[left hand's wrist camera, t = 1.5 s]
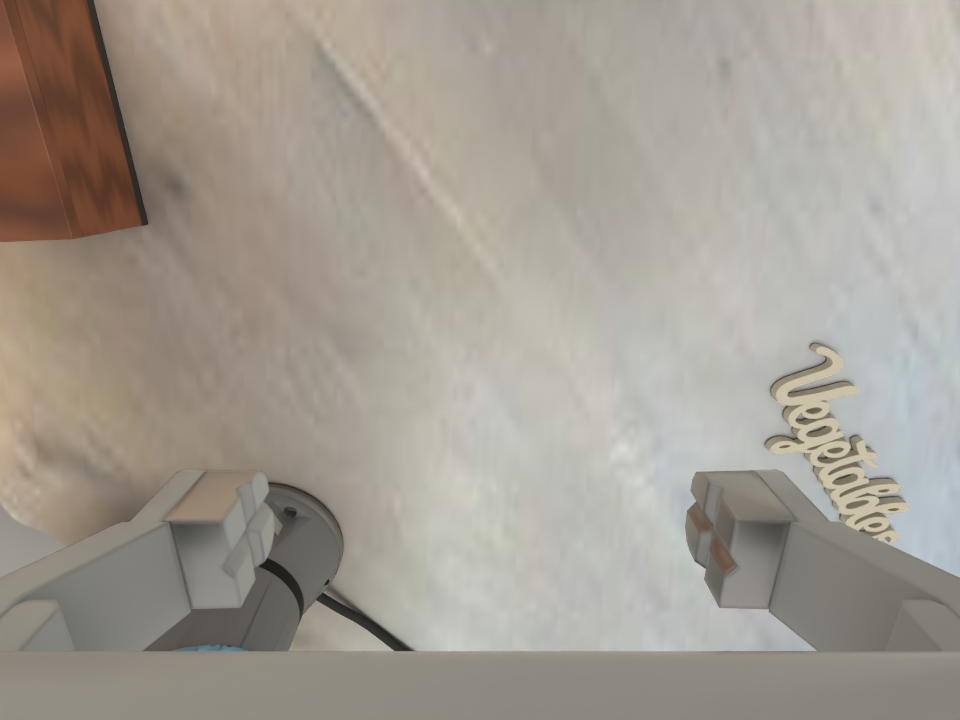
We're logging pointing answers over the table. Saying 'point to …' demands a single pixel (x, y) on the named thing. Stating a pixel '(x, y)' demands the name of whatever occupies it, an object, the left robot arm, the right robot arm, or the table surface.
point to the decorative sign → (835, 450)
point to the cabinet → (60, 127)
